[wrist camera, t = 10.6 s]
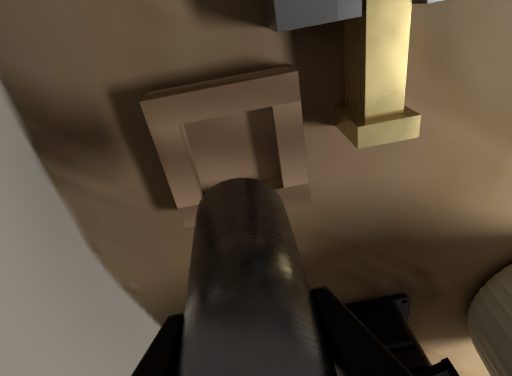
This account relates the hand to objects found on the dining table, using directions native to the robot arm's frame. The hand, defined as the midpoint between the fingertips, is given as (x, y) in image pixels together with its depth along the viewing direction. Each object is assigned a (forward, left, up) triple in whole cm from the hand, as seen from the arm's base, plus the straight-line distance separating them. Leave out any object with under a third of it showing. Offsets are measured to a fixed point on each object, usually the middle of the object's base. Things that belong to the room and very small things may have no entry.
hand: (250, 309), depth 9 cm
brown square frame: (0, 0, -12) cm, 12 cm away
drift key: (+5, -8, -12) cm, 15 cm away
